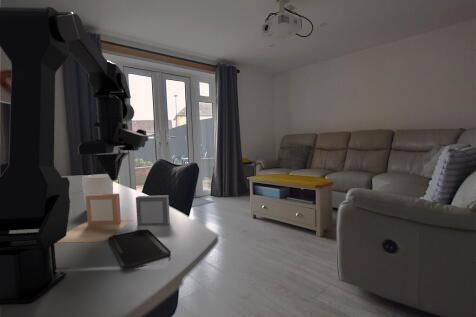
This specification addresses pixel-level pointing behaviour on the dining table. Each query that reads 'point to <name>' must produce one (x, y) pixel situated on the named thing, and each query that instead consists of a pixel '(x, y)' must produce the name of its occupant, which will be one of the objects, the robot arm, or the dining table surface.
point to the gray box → (152, 210)
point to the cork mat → (92, 232)
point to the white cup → (97, 185)
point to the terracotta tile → (103, 209)
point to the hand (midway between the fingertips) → (114, 180)
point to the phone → (137, 249)
